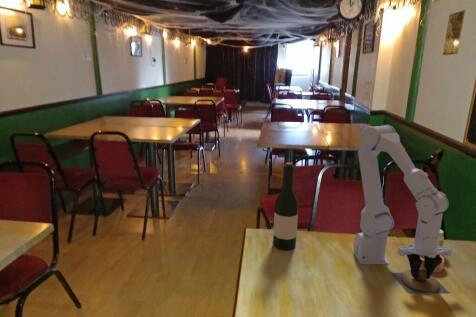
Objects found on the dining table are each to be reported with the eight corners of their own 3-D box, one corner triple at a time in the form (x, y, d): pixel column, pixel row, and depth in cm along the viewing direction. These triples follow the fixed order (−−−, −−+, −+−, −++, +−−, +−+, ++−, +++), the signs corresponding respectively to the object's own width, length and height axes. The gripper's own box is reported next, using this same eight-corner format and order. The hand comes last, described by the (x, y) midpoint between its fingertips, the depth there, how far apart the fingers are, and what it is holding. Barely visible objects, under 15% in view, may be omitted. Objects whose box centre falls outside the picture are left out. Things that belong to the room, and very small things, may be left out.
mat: (407, 294, 95) (407, 292, 95) (391, 273, 105) (391, 272, 105) (449, 294, 95) (450, 293, 95) (429, 273, 105) (429, 272, 105)
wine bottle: (270, 239, 125) (274, 160, 118) (292, 239, 126) (297, 160, 119) (275, 251, 117) (279, 166, 110) (299, 250, 118) (304, 166, 110)
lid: (411, 292, 95) (413, 278, 94) (394, 272, 105) (396, 259, 104) (446, 293, 95) (449, 278, 94) (426, 272, 105) (428, 259, 104)
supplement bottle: (437, 249, 120) (441, 227, 118) (443, 256, 116) (447, 233, 114) (423, 248, 121) (426, 226, 119) (429, 255, 116) (432, 233, 114)
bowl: (420, 273, 106) (422, 262, 105) (405, 257, 114) (407, 248, 113) (448, 273, 106) (450, 262, 105) (432, 257, 115) (433, 248, 114)
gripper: (409, 240, 92) (402, 285, 95) (461, 241, 93) (453, 285, 96) (396, 229, 99) (390, 270, 102) (445, 229, 100) (438, 271, 103)
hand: (420, 276), depth 100 cm, fingers closed on lid, 3 cm apart
